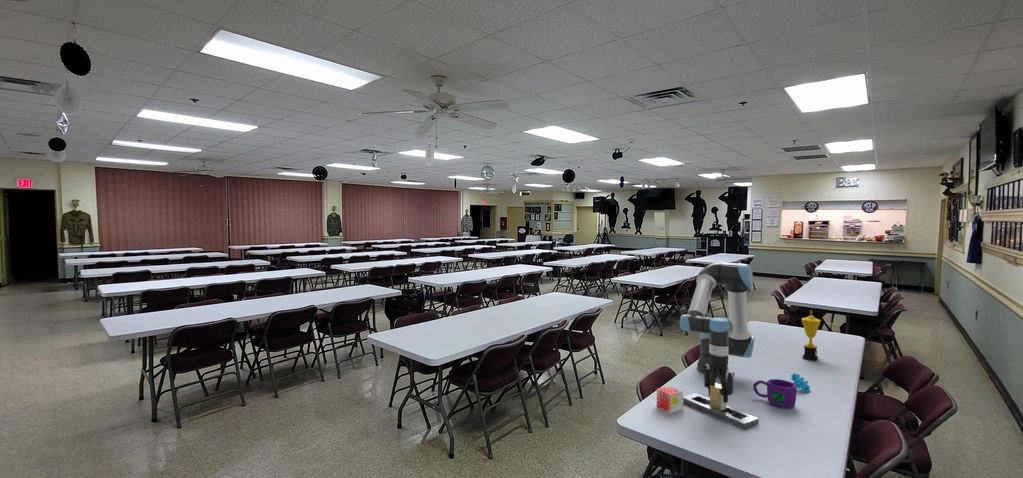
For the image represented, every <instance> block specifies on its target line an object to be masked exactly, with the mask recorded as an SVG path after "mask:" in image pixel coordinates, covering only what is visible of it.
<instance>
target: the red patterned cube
mask: <svg viewBox="0 0 1023 478" xmlns="http://www.w3.org/2000/svg"><path fill="white" fill-rule="evenodd" d="M683 397H684V391H682V390H680V389H678V388H675V387H673V386H671V385H667V386H663V387H659V388H656V407H658V408H660V409H662V410H664V411H667V412H668V413H669V414H671V413H674V412H678V411H681V410H683V409H684V403H683Z"/></svg>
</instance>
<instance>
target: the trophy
mask: <svg viewBox="0 0 1023 478" xmlns="http://www.w3.org/2000/svg"><path fill="white" fill-rule="evenodd" d="M812 314H813V310H810V315H808V316H806V317H802V318H801V323H802V325H803V329H804V332H805V335H806V337H807V338H808V340H809V341H808V342H807V343H806V344H804V346H803V348H804V351H803V352H804V353H803V354H802V359H804V360H808V361H815V362H817V361H818V359H819V355H818V346H815V344H814V343H813V338H815V337H816V335H817V332H818V330H819V329H818V328H819V326H820V325H821V319H818V318H816V317H815V316H814V315H812Z"/></svg>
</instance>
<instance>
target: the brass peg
mask: <svg viewBox="0 0 1023 478" xmlns="http://www.w3.org/2000/svg"><path fill="white" fill-rule="evenodd" d="M721 394H723V393H722V387H721V383H716V382H715V384H712V385H710V397H709V399H710V407H712V408H714V409H716V410H719V411H721V412H722V410H721ZM724 410H725V409H724Z"/></svg>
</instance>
